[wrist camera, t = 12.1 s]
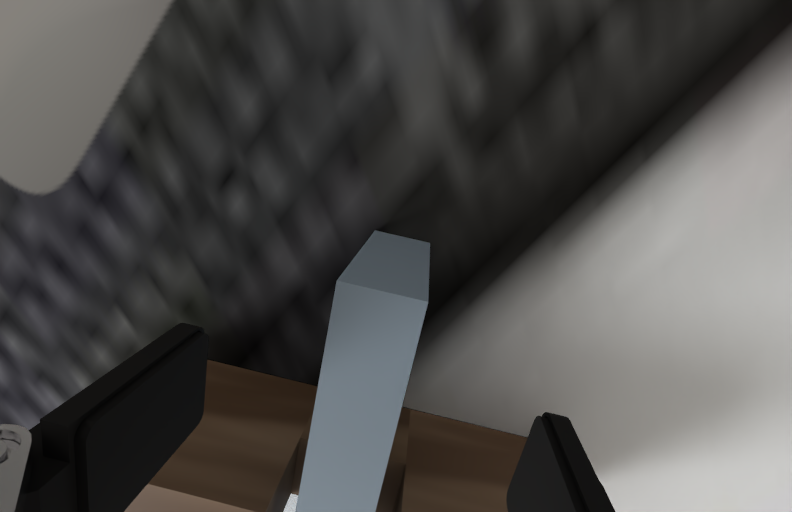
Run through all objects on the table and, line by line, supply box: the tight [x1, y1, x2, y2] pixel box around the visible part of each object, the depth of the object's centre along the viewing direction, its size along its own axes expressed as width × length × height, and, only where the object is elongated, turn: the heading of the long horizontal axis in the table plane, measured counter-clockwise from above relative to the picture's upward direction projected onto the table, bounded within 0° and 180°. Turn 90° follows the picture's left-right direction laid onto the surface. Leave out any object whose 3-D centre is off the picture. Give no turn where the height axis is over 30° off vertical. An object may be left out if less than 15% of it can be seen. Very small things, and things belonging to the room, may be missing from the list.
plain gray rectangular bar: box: [296, 230, 430, 512], centre depth 16 cm, size 20×2×7 cm, turn 168°
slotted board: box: [124, 360, 527, 512], centre depth 16 cm, size 3×20×7 cm, turn 78°
